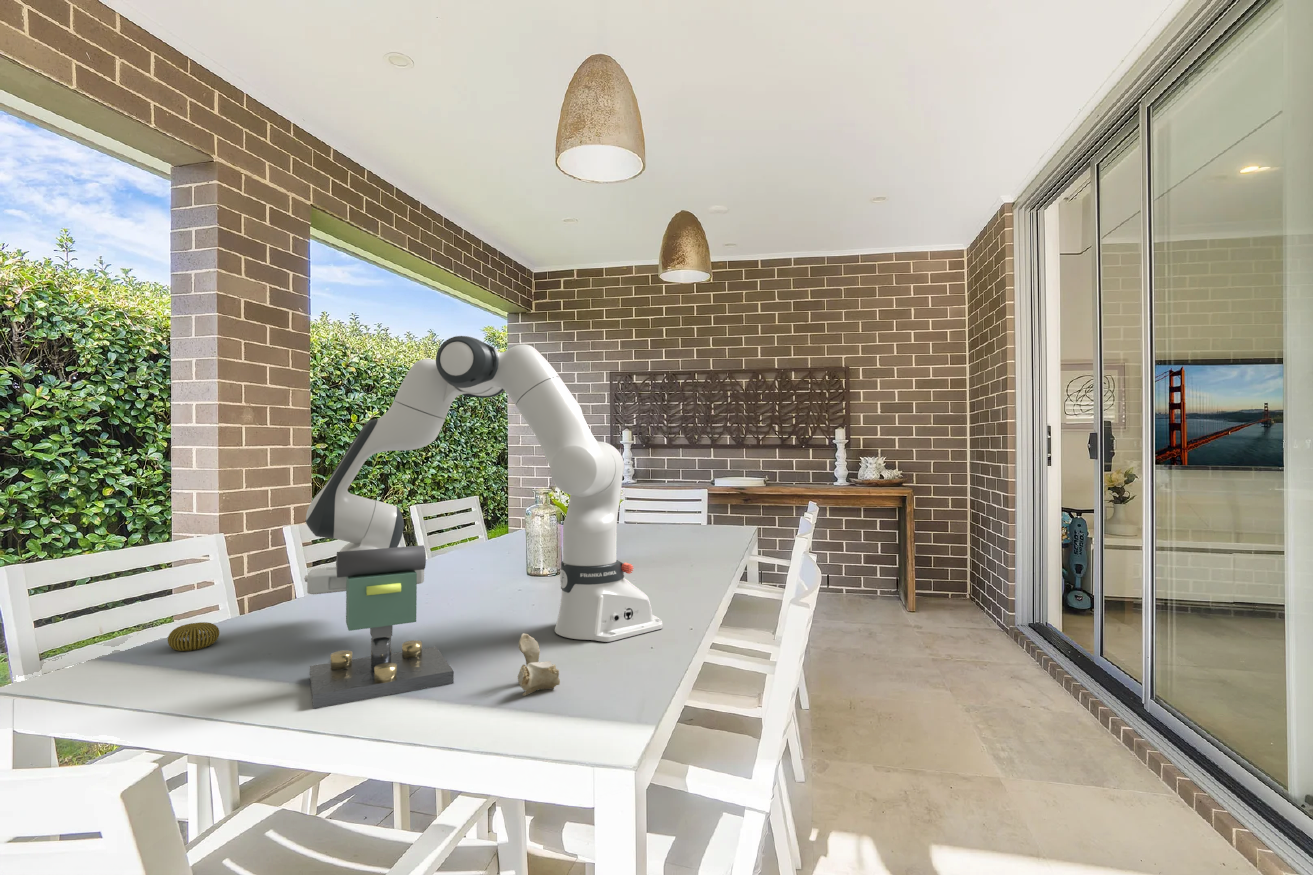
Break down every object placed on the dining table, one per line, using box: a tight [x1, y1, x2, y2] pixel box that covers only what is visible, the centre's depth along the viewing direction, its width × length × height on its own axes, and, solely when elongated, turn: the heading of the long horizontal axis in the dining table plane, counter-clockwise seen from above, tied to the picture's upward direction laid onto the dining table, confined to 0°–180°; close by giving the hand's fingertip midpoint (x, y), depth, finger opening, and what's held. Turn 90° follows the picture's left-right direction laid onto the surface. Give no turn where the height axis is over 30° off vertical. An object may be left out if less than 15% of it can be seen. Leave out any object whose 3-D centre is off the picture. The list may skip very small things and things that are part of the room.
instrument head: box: [335, 544, 427, 638], centre depth 104 cm, size 13×6×14 cm, turn 120°
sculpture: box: [167, 621, 220, 652], centre depth 122 cm, size 8×4×8 cm
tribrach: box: [309, 636, 455, 709], centre depth 105 cm, size 20×14×7 cm
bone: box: [517, 633, 561, 696], centre depth 101 cm, size 9×6×10 cm
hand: (371, 584), depth 116 cm, fingers closed
